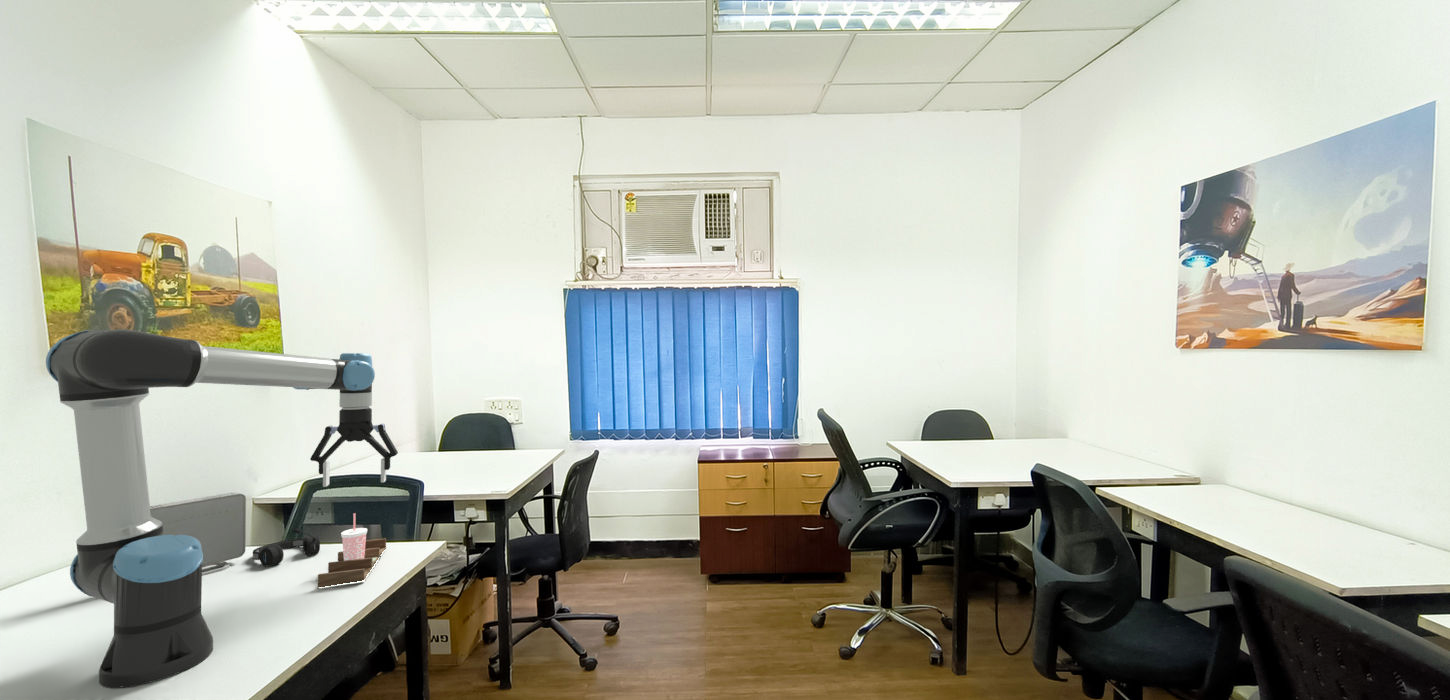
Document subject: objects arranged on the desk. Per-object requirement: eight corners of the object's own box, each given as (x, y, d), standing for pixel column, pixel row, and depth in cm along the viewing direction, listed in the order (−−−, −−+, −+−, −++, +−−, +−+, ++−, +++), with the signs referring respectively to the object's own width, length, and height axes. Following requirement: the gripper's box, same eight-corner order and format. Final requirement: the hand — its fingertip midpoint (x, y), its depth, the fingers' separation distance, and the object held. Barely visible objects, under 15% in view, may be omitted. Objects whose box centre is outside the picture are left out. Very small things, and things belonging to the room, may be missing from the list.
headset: (271, 534, 148) (243, 530, 159) (273, 570, 148) (245, 563, 158) (328, 521, 160) (298, 518, 170) (329, 554, 159) (299, 549, 170)
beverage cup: (345, 569, 146) (345, 517, 146) (337, 564, 150) (337, 513, 150) (370, 562, 151) (371, 512, 151) (362, 557, 155) (362, 508, 155)
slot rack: (363, 582, 141) (363, 569, 141) (317, 589, 137) (317, 575, 137) (386, 549, 165) (386, 538, 165) (347, 554, 161) (347, 542, 161)
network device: (114, 598, 132) (115, 516, 132) (106, 590, 136) (106, 511, 136) (248, 563, 153) (248, 493, 154) (236, 557, 158) (237, 489, 158)
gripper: (409, 405, 159) (408, 477, 159) (306, 408, 150) (306, 484, 150) (404, 407, 152) (403, 482, 152) (296, 410, 143) (295, 490, 143)
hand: (355, 483), depth 151 cm, fingers open, 13 cm apart
